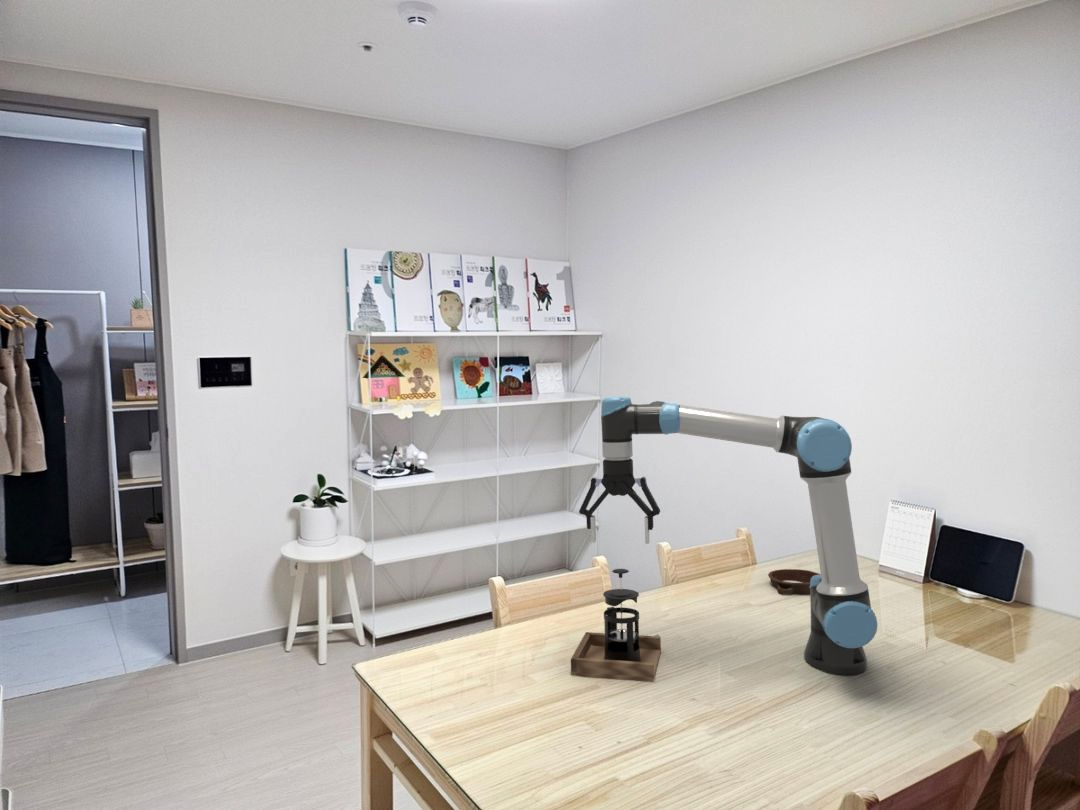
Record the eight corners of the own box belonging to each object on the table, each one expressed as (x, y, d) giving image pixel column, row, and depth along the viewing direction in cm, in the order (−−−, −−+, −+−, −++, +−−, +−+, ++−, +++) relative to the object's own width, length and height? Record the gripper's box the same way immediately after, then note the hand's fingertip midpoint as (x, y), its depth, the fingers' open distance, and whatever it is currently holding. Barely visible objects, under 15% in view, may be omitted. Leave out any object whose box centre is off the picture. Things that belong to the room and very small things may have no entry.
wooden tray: (660, 651, 198) (660, 636, 198) (653, 681, 179) (653, 665, 179) (586, 646, 203) (585, 632, 203) (571, 675, 184) (570, 659, 184)
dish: (755, 592, 249) (755, 578, 249) (785, 578, 266) (785, 564, 265) (806, 602, 238) (806, 587, 237) (834, 587, 254) (834, 572, 253)
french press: (649, 663, 187) (647, 572, 187) (615, 670, 184) (613, 576, 183) (626, 648, 198) (624, 562, 197) (594, 654, 195) (592, 566, 194)
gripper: (669, 456, 189) (671, 539, 190) (572, 457, 195) (574, 538, 196) (666, 459, 182) (669, 546, 183) (566, 460, 188) (568, 544, 189)
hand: (620, 542), depth 189 cm, fingers open, 13 cm apart
